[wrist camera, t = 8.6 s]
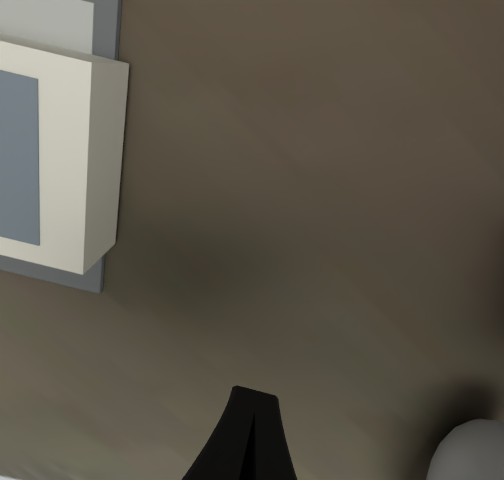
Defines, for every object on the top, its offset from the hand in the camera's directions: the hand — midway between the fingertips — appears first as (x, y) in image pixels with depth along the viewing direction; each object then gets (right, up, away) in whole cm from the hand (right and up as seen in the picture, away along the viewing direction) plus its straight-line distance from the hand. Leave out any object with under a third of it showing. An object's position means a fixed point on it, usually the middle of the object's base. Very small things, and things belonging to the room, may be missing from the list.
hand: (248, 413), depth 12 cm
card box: (-6, +8, +6) cm, 12 cm away
